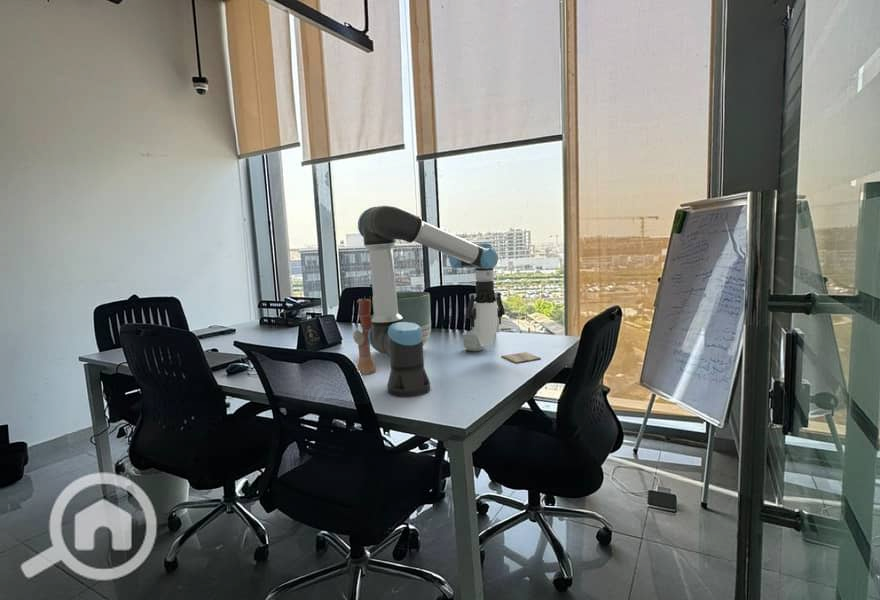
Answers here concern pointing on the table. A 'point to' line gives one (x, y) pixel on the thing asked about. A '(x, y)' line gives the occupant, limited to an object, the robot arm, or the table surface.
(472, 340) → the teacup
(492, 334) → the cup
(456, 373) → the table surface
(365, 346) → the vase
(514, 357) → the coaster
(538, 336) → the table surface
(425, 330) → the planter
